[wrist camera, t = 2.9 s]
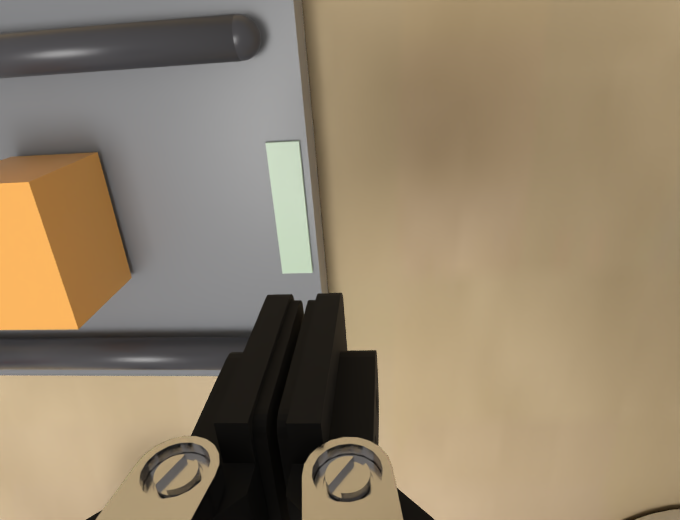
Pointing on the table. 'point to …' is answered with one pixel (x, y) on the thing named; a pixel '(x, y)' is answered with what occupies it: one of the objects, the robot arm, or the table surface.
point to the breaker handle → (56, 242)
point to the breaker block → (171, 169)
